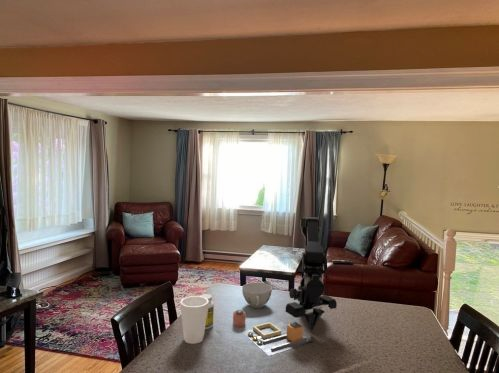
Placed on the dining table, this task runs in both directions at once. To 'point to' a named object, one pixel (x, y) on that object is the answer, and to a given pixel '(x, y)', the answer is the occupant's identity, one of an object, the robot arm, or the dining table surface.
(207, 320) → the pill bottle
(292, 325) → the toggle
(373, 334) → the dining table surface
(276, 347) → the panel
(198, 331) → the foam cup
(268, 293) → the teacup
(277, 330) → the socket
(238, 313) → the salmon cylinder
